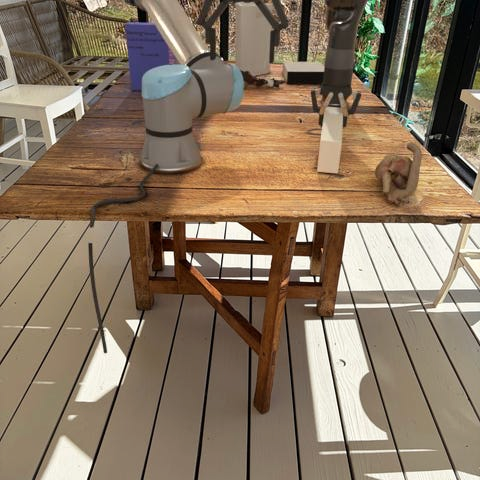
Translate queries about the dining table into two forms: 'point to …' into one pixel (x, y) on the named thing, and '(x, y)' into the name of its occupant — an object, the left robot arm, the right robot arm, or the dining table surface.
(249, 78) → the figurine
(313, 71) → the disc drive
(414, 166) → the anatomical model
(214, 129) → the dining table surface
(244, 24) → the white tapered box
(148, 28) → the cereal box
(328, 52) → the right robot arm
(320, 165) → the bar
